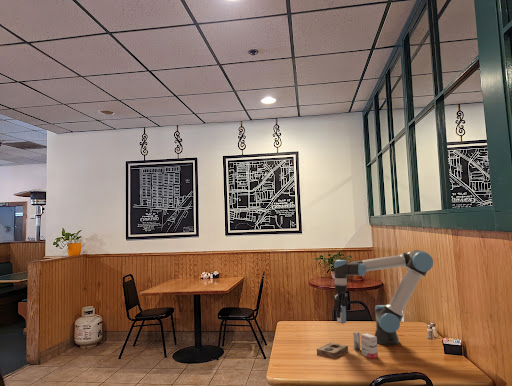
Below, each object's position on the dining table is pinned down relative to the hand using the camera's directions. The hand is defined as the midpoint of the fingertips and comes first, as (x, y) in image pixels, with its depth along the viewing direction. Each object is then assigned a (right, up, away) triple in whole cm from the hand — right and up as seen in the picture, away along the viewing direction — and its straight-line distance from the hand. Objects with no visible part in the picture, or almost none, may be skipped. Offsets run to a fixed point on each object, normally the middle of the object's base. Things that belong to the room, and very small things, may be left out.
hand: (341, 321), depth 233 cm
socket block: (-8, -15, -11) cm, 20 cm away
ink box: (+12, -14, -19) cm, 26 cm away
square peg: (0, 0, 0) cm, 0 cm away
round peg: (+8, -15, -7) cm, 18 cm away
